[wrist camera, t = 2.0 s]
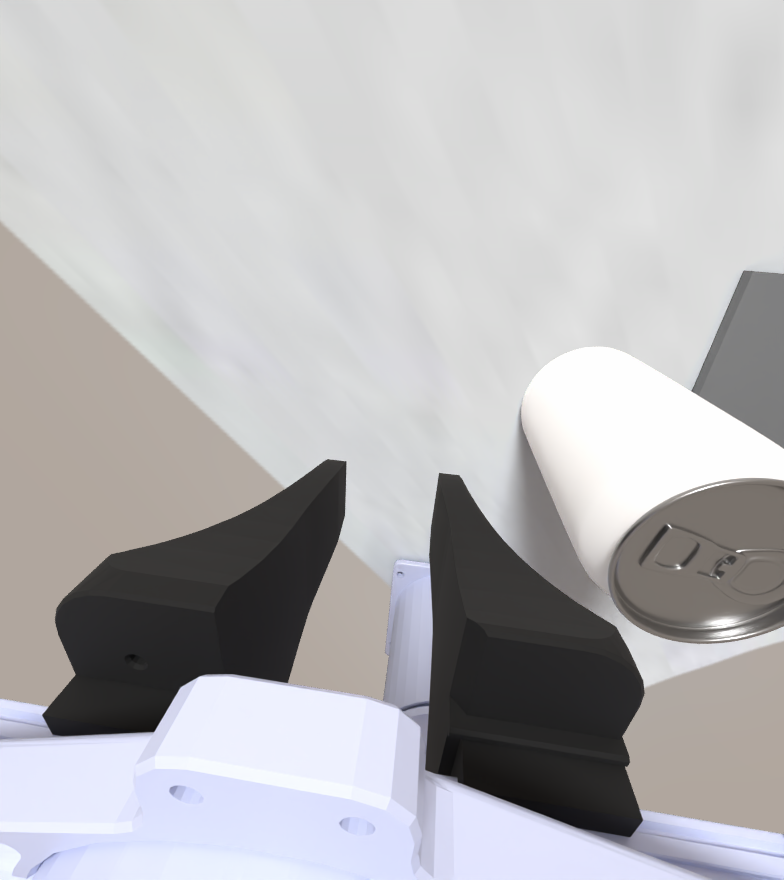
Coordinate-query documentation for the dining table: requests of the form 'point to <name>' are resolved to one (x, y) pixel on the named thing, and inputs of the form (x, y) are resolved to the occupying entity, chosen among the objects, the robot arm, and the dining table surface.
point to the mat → (750, 357)
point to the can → (661, 496)
